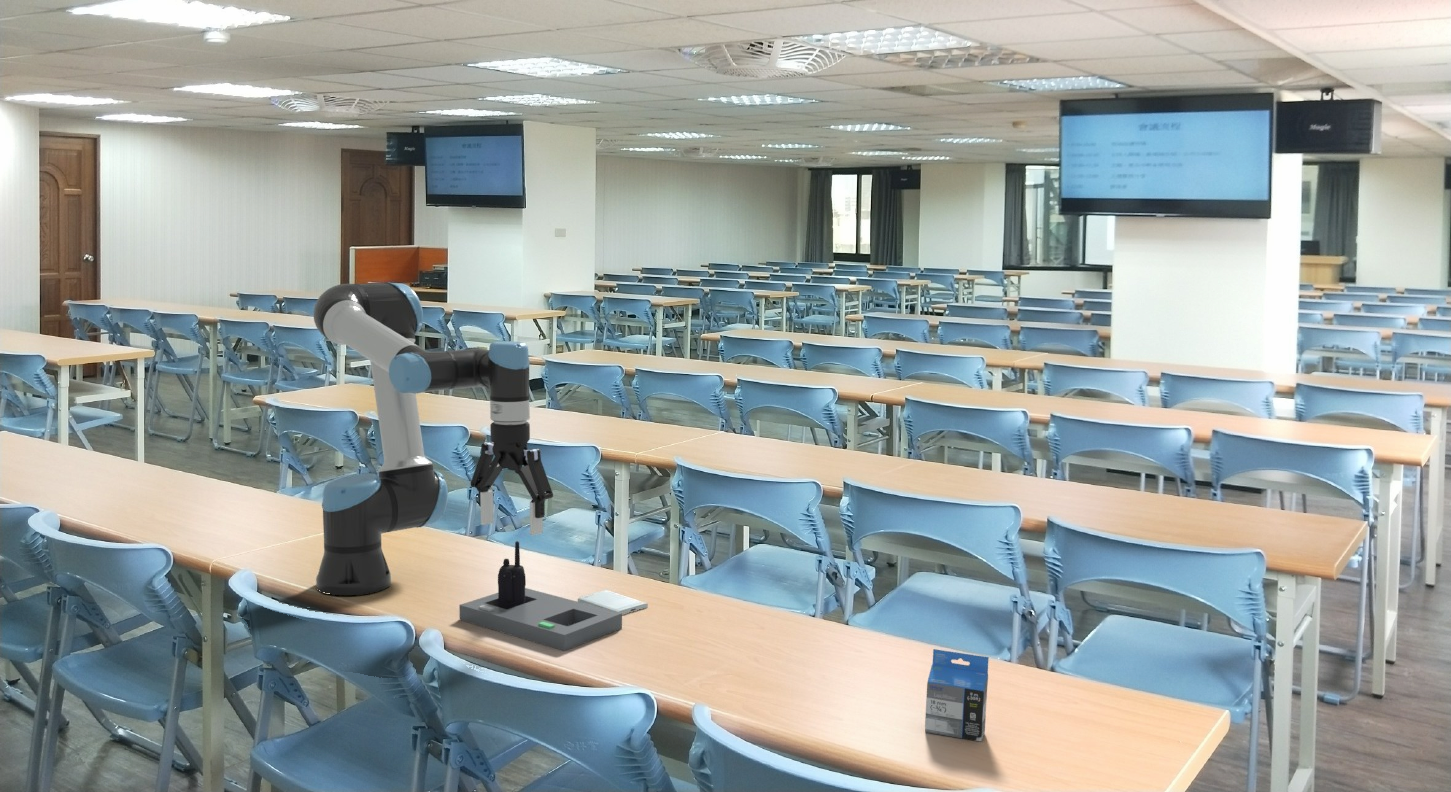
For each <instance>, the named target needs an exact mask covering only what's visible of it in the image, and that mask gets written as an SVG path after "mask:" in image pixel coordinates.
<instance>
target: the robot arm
mask: <svg viewBox="0 0 1451 792" xmlns="http://www.w3.org/2000/svg"><path fill="white" fill-rule="evenodd" d="M312 315H313V322H314V324H315V327H316V329H317V330H318V332H319V333H320V334H321V335H322V336H323V337H324V338H326V339H327V340H329V341H330V342H331V343H333V344H336V345H340V346H341V345H343V346H344V345H345V346H347V347H348V348H350V349H352V350H353V351H355V352H356V353H358V354H359V355H360V356H362V357H364V358H366V359H367V360H369V361H370V368H371V376H372V381H373V390H374V395H375V396H374V397H375V404H376V410H377V411H376V413H377V416H378V425H379V432H380V440H381V446H382V454H383V464H382V465H381V467H380V468H379V469H378V474H377V473H372V472H363V473H362V472H361V473H358V474H357V473H353V474H348V475H346V474H345V475H344V476H340V477H337V478H335V479H332V480H330V481H329V482H328V483H327V484H326V485H325V486H324V487H323V491H322V501H321V507H322V523H323V526H322V527H323V548H324V549H323V550H324V551H323V556H322V559H321V561H320V566H319V569H318V574H316V581H315V583H316V586H315V588H316V587H317V588H316V590H317V589H318V590H320V591H321V592H325V593H330V594H332V595H331V596H335V595H356V596H362V595H364V594H365V595H369V593H370V594H374V592H375V593H377V592H378V593H379V592H380V590H381V591H383V590H386V589H387V588H389V587H390V586H391V582H392V581H391V580H392V578H391V577H392V576H391V571H390V569H389V565H388V563H387V559H386V557H385V555H384V552H383V548H382V534H386V533H391V532H397V531H402V530H408V529H413V528H417V529H418V528H422V527H425V526H428V525H433V524H435V523H437V522H439V521H440V520H441V518H442V517H443V515H444V513H445V511H446V509H447V506H448V499H449V496H448V495H449V492H448V491H449V490H448V485H447V482H446V480H445V479H444V476H443V474H442V473H441V472H440V471H437V470H435V469H434V465H433V462H432V461H431V460H429V459H428V458H427V457H426V456H425V449H424V443H423V437H422V436H423V435H422V429H421V423H420V421H421V420H420V416H419V407H418V401H417V394H419V393H420V394H421V393H428V392H436V391H445V390H446V391H447V390H458V389H469V388H470V389H471V388H485V389H487V388H488V389H489V402H490V403H489V405H490V406H489V408H490V410H489V411H490V413H489V415H490V420H491V421H492V422H491V424H490V426H489V427H490V430H489V431H490V441H488V442H484V443H481V448H480V456H479V459H478V462H477V464H476V466H475V470H474V473H473V475H472V478H471V481H470V486H471V488H476V490H477V491H478V506H479V507H480V525H481V526H486V525H490V524H494V521H495V520H494V490H492V489H493V488H492V486H493V485H494V483H495V481H496V480H497V478H498V477H499V476H500V474H501V472H502V471H503V470H505V469H507V470H509V471H514V473H515V474H517V475H518V476H519V478H520V479H521V482H522V484H523V485H524V487H525V488H526V490H527V492H528V494H529V495H530V497H531V501H529V536H536V535H541V534H543V532H544V527H543V526H544V517H545V516H546V515H545V513H546V512H545V506H546V505H545V503H546V501H547V500H548V499H552V498H553V497H554V493H553V490H552V487H551V485H550V481H549V479H548V476H547V474H546V473H547V472H546V470H545V467H544V465H543V462H542V459H541V458H542V456H541V450H540V449H539V448H534V449H528V442H529V441H530V438H531V436H530V435H531V433H530V432H531V431H530V430H531V428H530V427H531V425H530V423H529V422H528V421H529V420H530V417H531V416H530V415H531V414H530V365H531V363H530V360H529V346H528V345H527V343H525V342H523V341H512V340H511V341H510V340H509V341H508V340H506V341H503V340H502V341H493V342H491V343H490V344H489V348H488V349H486V348H480V347H464V348H463V347H462V348H461V349H457V350H440V351H428V350H426V349H424V348H423V347H420V346H419V345H417V344H416V334H418V333H419V332H420V331H421V329H422V326H423V323H422V322H423V321H424V311H423V306H422V303H421V301H420V298H419V296H418V295H417V294H416V291H414V290H413V289H412V288H411V287H410V286H409V285H407V284H404V283H399V282H398V283H396V282H389V281H388V282H373V283H372V282H371V283H370V282H367V283H342V284H337V285H333V286H332V287H329V288H328V289H327V290H325V291H323V292H322V294H320V296H319V297H318V298H317V300H316V303H315V304H314V308H313V314H312ZM318 590H317V591H318ZM321 592H320V593H321Z"/></svg>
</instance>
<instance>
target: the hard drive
mask: <svg viewBox="0 0 1451 792" xmlns="http://www.w3.org/2000/svg"><path fill="white" fill-rule="evenodd" d="M577 602H581V603H585V604H588V605H592V606H596V607H600V608H604V609H608V610H611V611H615V612H619V613H622V616H624V615H627V613H628V614H630V613H629V612H631V613H634V612H637V610H638V611H640V610H639V609H641V610H644V609H648V608H649V603H647V602H645V601H641V600H638V599H635V598H632V597H629V596H625V595H622V594H621V593H616V592H614V591H610V590H608V589H605V590H600V591H597V592H595V593H594V592H593V593H590V594H586V595H584V596H580V597H578V598H577ZM643 608H644V609H643ZM633 611H634V612H633ZM623 614H624V615H623Z"/></svg>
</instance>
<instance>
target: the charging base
mask: <svg viewBox="0 0 1451 792" xmlns="http://www.w3.org/2000/svg"><path fill="white" fill-rule="evenodd" d="M459 620H460V621H462V620H463V622H466V623H469V624H472V623H473V624H472V625H476V626H479V627H482V628H483V627H484V628H487V629H490V630H493V631H497V632H499V633H503V634H507V635H509V636H514V637H517V638H520V639H523V640H525V641H526V640H527V641H530V642H534V643H537V644H539V645H540V644H541V645H543V646H547V647H551V648H553V649H557V650H561V651H562V652H563V651H564V652H565V651H567V650H571V649H573V648H575V647H578V646H581V645H583V644H586V643H588V642H591V641H594V640H596V639H599V638H601V637H604V636H606V635H608V633H609V634H611V633H613V631H614V632H616V631H619V630H621V628H623V615H622V613H619V612H615V611H611V610H608V609H604V608H600V607H596V606H592V605H588V604H585V603H581V602H578V600H577V601H576V600H572V599H569V598H566V597H562V596H561V597H560V596H557V595H554V594H550V593H546V592H542V591H539V590H535V589H532V588H528V587H527V588H526V587H525V604H522V605H519V606H516V607H513V608H510V609H503V608H500V607H499V601H498V592H496V593H493V594H489V595H486V596H484V597H480V598H477V599H474V600H471V601H468V602H465V603H461V604H459Z"/></svg>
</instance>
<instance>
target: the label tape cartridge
mask: <svg viewBox="0 0 1451 792" xmlns="http://www.w3.org/2000/svg"><path fill="white" fill-rule="evenodd" d="M959 660H962V661H963V662H966V663H967V662H968V663H969V664H968V665H967V664H961V663H955V662H952V661H959ZM926 683H927V684H926V700H925V721H924V722H925V724H924V727H925V729H924V730H925V731H924V732H925V733H926V734H927V733H928V734H934V735H935V734H936V735H940V736H947V737H951V738H952V737H953V738H958V739H964V740H969V741H974V742H980V741H981V742H982V741H983V738H984V736H985V732H986V719H987V717H986V716H987V715H986V714H987V699H988V683H989V656H983V655H975V654H967V653H962V652H957V651H956V652H955V651H948V650H944V649H943V650H942V649H937V648H936V649H935V648H933V650H932V664H931V666H930V670H929V674H928V679H927V682H926Z"/></svg>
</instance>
